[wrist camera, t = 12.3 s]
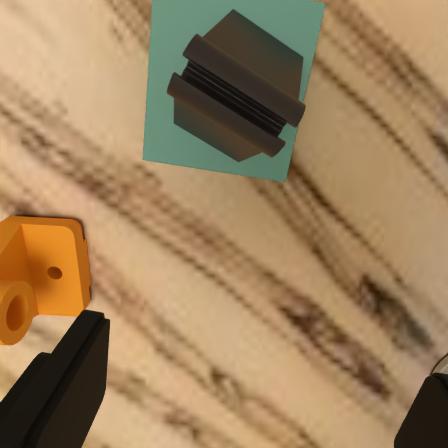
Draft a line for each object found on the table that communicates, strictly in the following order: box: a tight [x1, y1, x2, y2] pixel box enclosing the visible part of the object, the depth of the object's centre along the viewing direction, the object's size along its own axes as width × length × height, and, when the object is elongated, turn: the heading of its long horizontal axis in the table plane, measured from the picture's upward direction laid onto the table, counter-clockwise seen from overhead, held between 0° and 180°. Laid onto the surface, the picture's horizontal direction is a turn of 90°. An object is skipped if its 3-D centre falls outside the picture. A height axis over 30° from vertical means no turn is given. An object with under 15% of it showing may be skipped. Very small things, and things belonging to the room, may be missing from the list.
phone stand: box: [167, 9, 305, 162], centre depth 21 cm, size 9×6×12 cm, turn 149°
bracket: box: [0, 216, 91, 345], centre depth 33 cm, size 11×7×12 cm
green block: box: [143, 0, 326, 182], centre depth 29 cm, size 12×13×5 cm
